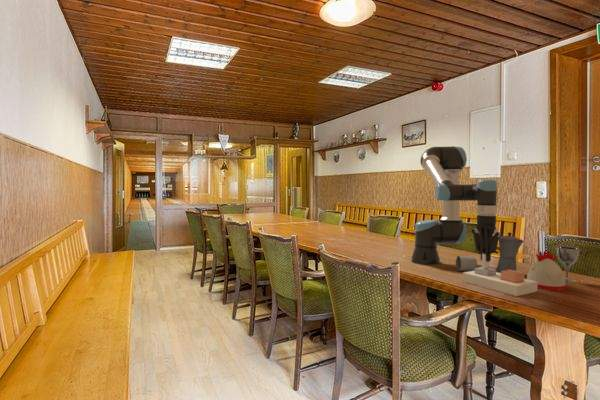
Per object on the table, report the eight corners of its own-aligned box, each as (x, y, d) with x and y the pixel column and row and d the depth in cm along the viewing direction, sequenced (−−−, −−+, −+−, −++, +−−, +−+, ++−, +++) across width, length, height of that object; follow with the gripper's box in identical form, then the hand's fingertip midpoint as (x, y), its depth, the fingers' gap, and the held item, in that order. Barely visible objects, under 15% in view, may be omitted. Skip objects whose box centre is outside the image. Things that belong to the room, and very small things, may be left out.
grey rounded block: (474, 275, 158) (474, 268, 158) (483, 274, 160) (483, 266, 160) (487, 279, 152) (487, 271, 152) (495, 277, 155) (496, 269, 155)
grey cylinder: (477, 272, 174) (478, 257, 174) (460, 272, 175) (461, 257, 175) (468, 268, 185) (469, 253, 185) (452, 267, 186) (453, 253, 185)
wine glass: (557, 277, 166) (558, 245, 165) (579, 280, 160) (580, 247, 159) (554, 280, 160) (555, 247, 159) (576, 284, 154) (577, 249, 154)
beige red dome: (519, 281, 159) (520, 248, 159) (551, 281, 159) (552, 248, 158) (539, 290, 145) (540, 254, 145) (574, 290, 145) (575, 254, 144)
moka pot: (519, 277, 166) (520, 234, 165) (485, 271, 177) (486, 231, 177) (526, 273, 172) (527, 233, 171) (492, 268, 184) (493, 229, 183)
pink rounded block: (500, 279, 147) (500, 271, 147) (509, 277, 150) (509, 269, 150) (515, 282, 142) (515, 274, 142) (524, 281, 145) (524, 272, 144)
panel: (462, 281, 159) (462, 272, 158) (482, 277, 165) (482, 269, 165) (516, 296, 137) (516, 286, 137) (537, 291, 144) (537, 281, 144)
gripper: (467, 214, 159) (466, 266, 160) (495, 216, 148) (494, 272, 149) (478, 213, 163) (477, 264, 164) (506, 215, 151) (505, 270, 152)
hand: (485, 268), depth 156 cm, fingers closed
